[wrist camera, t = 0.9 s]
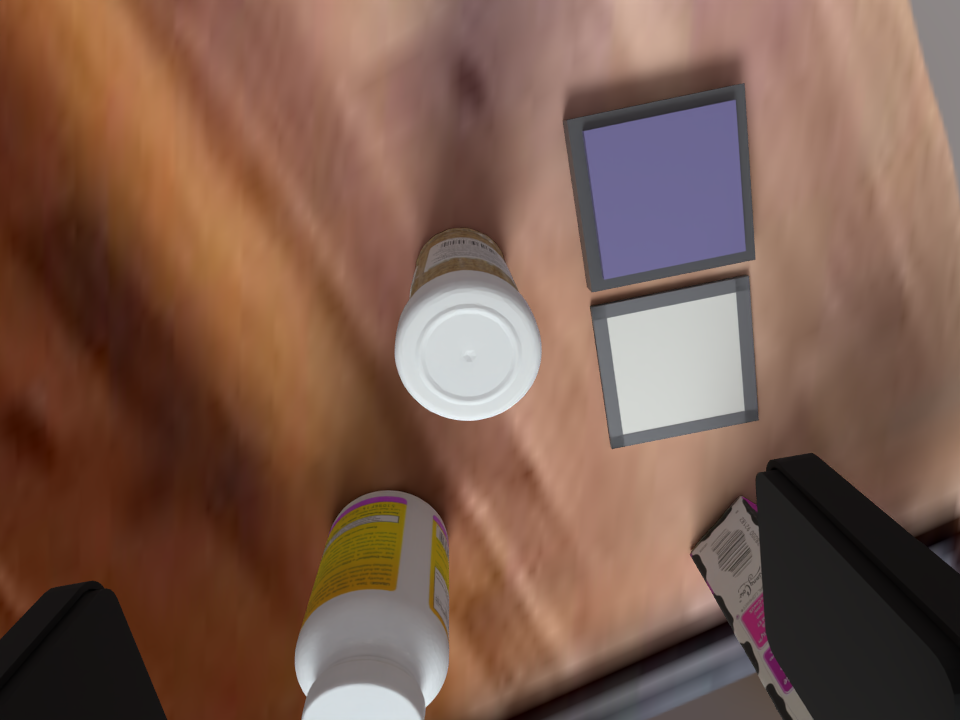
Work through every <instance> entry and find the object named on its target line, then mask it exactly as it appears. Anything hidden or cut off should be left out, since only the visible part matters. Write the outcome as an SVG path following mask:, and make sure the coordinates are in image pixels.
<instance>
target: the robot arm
mask: <svg viewBox="0 0 960 720" xmlns="http://www.w3.org/2000/svg"><path fill="white" fill-rule="evenodd" d="M756 497H757V512H758V527H759V542H760V557H761V572H762V588H763V603H764V618H765V630H766V636H767V640H768V643H769V646H770V649H771V651H772V653H773V655H774V657H775V659H776V661H777V662H778V664H779V665H780V667H781V669H782V670H783V672H784V673H785V675H786V677H787V678H788V680H789V681H790V683H791V685H792V686H793V688H794V689H795V691H796V693H797V694H798V696H799V697H800V699H801V700H802V702H803V704H804V705H805V707H806V708H807V710H808V712H809V713H810V715H811V716H812V718H813V720H960V574H959V573H958V572H956V571H955V570H954V569H953V568H952V567H950V566H949V565H948V564H947V563H946V562H944V561H943V560H942V559H941V558H940V557H938V556H937V555H936V554H935V553H934V552H932V551H931V550H930V549H929V548H928V547H926V546H925V545H924V544H923V543H921V542H920V541H918V540H917V539H916V538H914V537H913V536H912V535H911V534H910V533H908V532H907V531H906V530H905V529H904V528H902V527H901V526H900V525H899V524H898V523H896V522H895V521H894V520H893V519H892V518H891V517H889V516H888V515H887V514H886V513H885V512H883V511H882V510H881V509H880V508H879V507H877V506H876V505H875V504H874V503H873V502H871V501H870V500H869V499H868V498H867V497H865V496H864V495H863V494H862V493H861V492H859V491H858V490H857V489H856V488H855V487H854V486H852V485H851V484H850V483H849V482H848V481H846V480H845V479H844V478H843V477H842V476H840V475H839V474H838V473H837V472H836V471H834V470H833V469H832V468H831V467H830V466H828V465H827V464H826V463H825V462H824V461H822V460H821V459H820V458H819V457H818V456H816V455H815V454H813V453H808V454H802V455H796V456H791V457H785V458H779V459H774V460H770V461H769V462H768V464H767V468H766V472H760V473H758V474H757V476H756ZM0 720H167V718H166V716H165V713H164V711H163V709H162V706H161V704H160V701H159V699H158V696H157V694H156V692H155V689H154V687H153V684H152V682H151V679H150V677H149V674H148V672H147V670H146V667H145V665H144V662H143V660H142V657H141V655H140V653H139V650H138V648H137V645H136V643H135V640H134V638H133V636H132V633H131V631H130V628H129V626H128V623H127V621H126V619H125V616H124V614H123V611H122V609H121V606H120V604H119V602H118V599H117V597H116V595H115V593H114V592H113V591H111V590H110V589H104V587H103V586H102V585H101V584H100V583H99V582H96V581H88V582H82V583H77V584H71V585H66V586H60V587H55V588H51V589H50V590H48V591H47V592H46V593H44V594H43V595H42V596H41V597H40V599H39V600H38V601H37V602H36V603H35V604H34V605H33V606H32V607H31V608H30V609H29V610H28V611H27V612H26V613H25V614H24V615H23V616H22V617H21V618H20V619H19V621H18V622H17V623H16V624H15V625H14V626H13V627H12V628H11V629H10V630H9V631H8V632H7V633H6V634H5V635H4V636H3V637H2V638H1V639H0Z"/></svg>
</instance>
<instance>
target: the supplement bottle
mask: <svg viewBox="0 0 960 720" xmlns="http://www.w3.org/2000/svg"><path fill="white" fill-rule="evenodd" d="M448 664H449V544H448V535H447V531H446V528H445V525H444V523H443V521H442V519H441V517H440V516H439V515H438V513H437V512H436V511H435V510H434V509H433V508H432V507H431V506H430V505H429V504H428V503H426V502H425V501H423V500H422V499H420V498H418V497H416V496H414V495H411V494H408V493H405V492H401V491H392V490H385V491H376V492H372V493H368V494H365V495H363V496H361V497H359V498H357V499H355V500H354V501H352V502H351V503H349V504H348V505H347V506H346V507H345V508H344V509H343V510H342V511H341V512H340V513H339V515H338V516H337V518H336V519H335V521H334V523H333V525H332V527H331V530H330V533H329V536H328V539H327V543H326V546H325V549H324V553H323V556H322V560H321V563H320V566H319V570H318V573H317V576H316V580H315V583H314V587H313V590H312V593H311V597H310V600H309V603H308V607H307V610H306V614H305V617H304V620H303V623H302V627H301V630H300V633H299V637H298V641H297V645H296V650H295V669H296V674H297V678H298V681H299V684H300V686H301V688H302V690H303V692H304V693H305V695H306V696H307V697H306V701H305V706H304V710H303V714H302V719H301V720H424V716H425V707H427V706H428V705H429V703H430V702H431V701H432V700H433V699H434V698H435V697H436V695H437V694H438V692H439V691H440V689H441V687H442V685H443V683H444V680H445V678H446V675H447V670H448Z"/></svg>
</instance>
